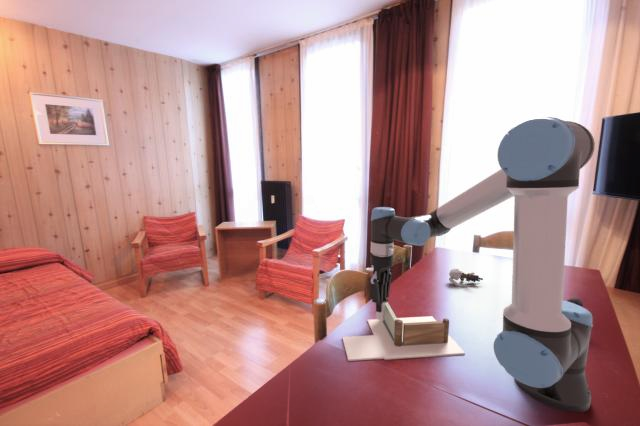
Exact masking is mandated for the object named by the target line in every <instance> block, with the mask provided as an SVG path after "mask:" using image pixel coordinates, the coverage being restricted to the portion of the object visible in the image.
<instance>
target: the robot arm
mask: <svg viewBox="0 0 640 426" xmlns="http://www.w3.org/2000/svg"><path fill="white" fill-rule="evenodd" d="M594 138H595V137H594V136H593V134H592V133H591V131H590V130H589V129H588V128H586V126H584V125H582V124H580V123H578V122H575V121H568V120H563V119H560V118H557V117H553V116H552V117H551V116H547V117H533V118H529V119H526V120H524V121H521V122H519V123H518V124H516V125H515V126H513V127H512V128H511V129H510V130H509V131H508V132H507V133H506V134H505V135H504V136H503V137H502V139H501V141H500V143H499V145H498V148H497V162H498V165H499V167H500V169H499V170H497V171H495V172H494V173H493V174H490V175H489V176H487V177H486V178H484V179H483V180H481V181H480V182H478V183H476V184H475V185H473V186H471V187H470V188H468V189H467V190H465V191H463V192H462V193H460V194H458V195H457V196H455V197H453V198H452V199H450V200H448V201H447V202H445V203H444V204H442V205H441V206H439V207H437V208H436V209H434V210H433V211H430V212H429V213H427V214H421V215H416V216H411V217H405V216H399V215H396V211H395V209H394V208H393V207H388V206H379V207H378V206H377V207H374V208H372V209H371V215H370V256H369V257H370V259H369V260H370V261H369V262H370V263H369V264H370V265H371V266H372V267H373V271H372V277H369V278H368V282H369V284H370V293H371V302H372V303H374V304H375V319H378V320H380V321H384V320H385V301H386V302H388V303H389V299H388V298H389V296H390V290H391V282H392V277H393V274H394V273H393V272H394V269H391V268H392V267H393V266H394V255H393V254H394V250H395V244H394V243H395V242H396V241H397V242H400V243H404V244H407V245H410V246H418V247H422V246H424V245H426V242H428V241H429V240H430V238H434V237H440V236H444V235H445V234H447V233H449V232H450V231H451V229H453V228H456V227H457V226H458V225H461V224H463V223H465V222H467V221H469V220H471V219H473V218H474V217H476V216H478V215H480V214H482V213H484V212H486V211H488V210H490V209H491V208H493V207H495V206H498V205H499V204H502V203H503V202H505V201H507V200H510V199H512V198H514V205H513V206H514V209H513V211H514V213H513V215H514V216H513V242H512V243H513V244H512V245H513V246H512V249H513V250H512V275H511V276H512V278H511V279H512V280H511V304H509V305H507V306H506V307H504V308H503V314H502V315H503V316H502V331H501V332H500V333H498V334H497V335H496V337H495V339H494V342H493V352H494V356H495V357H496V358H495V359H496V360H497V362H498V363H499V365H500V366H501V367H503V368H504V370H505V372H506V373H507V374H508V375H509V376H511V377H512V378H513V379H514V381H515V383H516V384H517V386H518V387H519V388H520V390H522V391H523V392H524V393H526V395H527V396H529V397H531V399H534V400H535V401H537V402H539V403H540V404H543V405H546V406H547V407H550V408H553V409H557V410H558V411H559V410H560V411H564V412H570V413H577V412H578V413H580V412H582V413H586V412H587V411H588V410H589V409H590V406H591V402H592V393H591V390H590V387H589V383H588V379H587V376H586V364H587V359H588V352H589V346H590V340H591V335H592V334H591V333H592V328H593V327H594V324H593V319H594V317H593V315H592V313H591V312H590V310H588V309H587V308H585V307H583V306H582V307H581V306H579V305H576V304H574V303H571V302H568V301H567V300H563V299H564V298H563V296H564V281H565V280H564V277H565V260H566V240H567V239H566V237H567V236H566V234H567V220H568V219H567V217H568V216H567V215H568V199H569V198H568V197H569V195H571V194H572V193H574V192H575V191H576V190H577V189H579V188H580V185H579V183H580V170H581V169H583V168H584V167H585V166H586V165H587V164H588V163H589V161H590V160H591V158H592V157H593V155H594V152H595V139H594Z"/></svg>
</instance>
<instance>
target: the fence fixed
mask: <svg viewBox="0 0 640 426" xmlns="http://www.w3.org/2000/svg"><path fill="white" fill-rule="evenodd" d="M449 330H450V320H449V318H443V319H442V320H436V321H432V322H415V323H403V321H402V320H399V319H397V320H395V329H394V345H395V346H398V347H400V346H402V333H403V344H404V345H409V344H424V343H440V342H444V343H448V334H449Z"/></svg>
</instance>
